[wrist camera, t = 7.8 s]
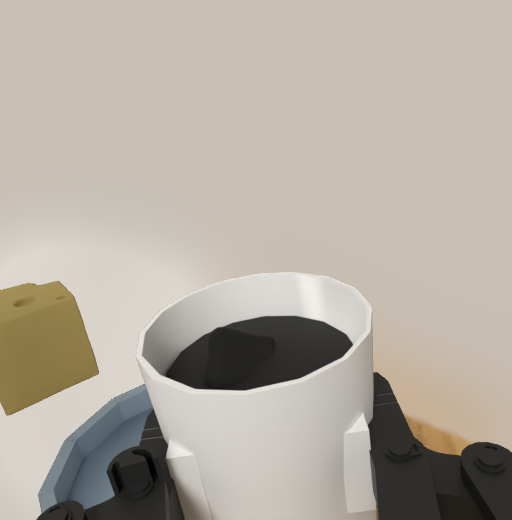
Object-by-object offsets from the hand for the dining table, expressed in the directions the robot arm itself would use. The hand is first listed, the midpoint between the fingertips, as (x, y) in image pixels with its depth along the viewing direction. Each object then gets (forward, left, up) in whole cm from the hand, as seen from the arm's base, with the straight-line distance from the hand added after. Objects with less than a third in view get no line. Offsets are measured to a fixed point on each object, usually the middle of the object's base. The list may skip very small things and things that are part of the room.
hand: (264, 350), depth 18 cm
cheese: (-38, +13, -18) cm, 44 cm away
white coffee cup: (+2, -3, -7) cm, 8 cm away
